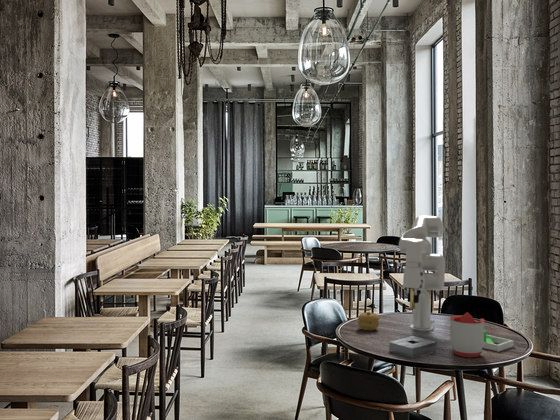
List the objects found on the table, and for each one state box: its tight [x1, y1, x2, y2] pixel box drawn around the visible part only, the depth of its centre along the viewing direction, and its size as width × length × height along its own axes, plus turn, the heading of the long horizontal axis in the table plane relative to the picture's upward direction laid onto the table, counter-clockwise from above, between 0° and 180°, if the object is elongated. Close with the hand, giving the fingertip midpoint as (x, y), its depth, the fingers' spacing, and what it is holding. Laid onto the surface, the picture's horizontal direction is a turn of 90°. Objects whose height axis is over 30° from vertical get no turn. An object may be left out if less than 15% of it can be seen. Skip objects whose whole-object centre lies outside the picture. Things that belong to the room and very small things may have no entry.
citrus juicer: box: [449, 312, 486, 359], centre depth 261 cm, size 16×17×20 cm
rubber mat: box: [399, 334, 426, 339], centre depth 286 cm, size 10×10×1 cm
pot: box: [357, 311, 380, 332], centre depth 306 cm, size 12×12×10 cm
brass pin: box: [409, 288, 416, 310], centre depth 272 cm, size 3×3×10 cm
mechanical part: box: [484, 329, 495, 344], centre depth 278 cm, size 12×6×8 cm, turn 171°
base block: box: [388, 335, 437, 359], centre depth 265 cm, size 18×14×4 cm
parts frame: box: [482, 333, 514, 352], centre depth 277 cm, size 14×20×3 cm
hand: (413, 301), depth 272 cm, fingers closed on brass pin, 3 cm apart
